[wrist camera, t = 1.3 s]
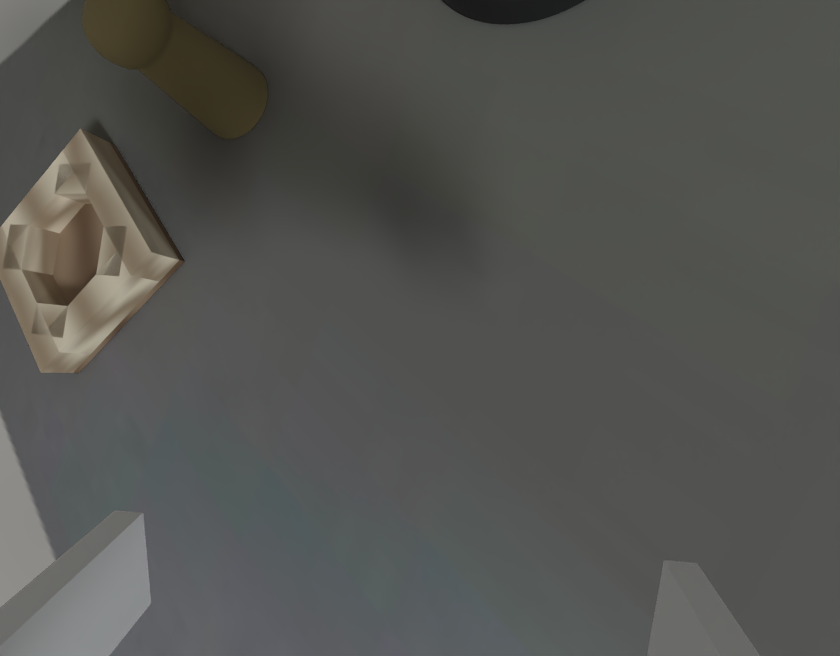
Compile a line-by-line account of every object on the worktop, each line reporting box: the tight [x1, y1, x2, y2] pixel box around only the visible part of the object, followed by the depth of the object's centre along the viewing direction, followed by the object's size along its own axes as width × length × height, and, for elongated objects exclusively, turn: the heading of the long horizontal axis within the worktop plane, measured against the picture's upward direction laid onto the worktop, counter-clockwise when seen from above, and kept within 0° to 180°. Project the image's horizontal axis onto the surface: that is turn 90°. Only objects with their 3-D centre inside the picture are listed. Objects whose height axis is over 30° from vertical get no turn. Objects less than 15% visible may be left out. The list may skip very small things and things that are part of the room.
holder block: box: [0, 129, 184, 373], centre depth 41 cm, size 14×14×3 cm
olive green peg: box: [82, 0, 268, 139], centre depth 33 cm, size 6×6×11 cm
